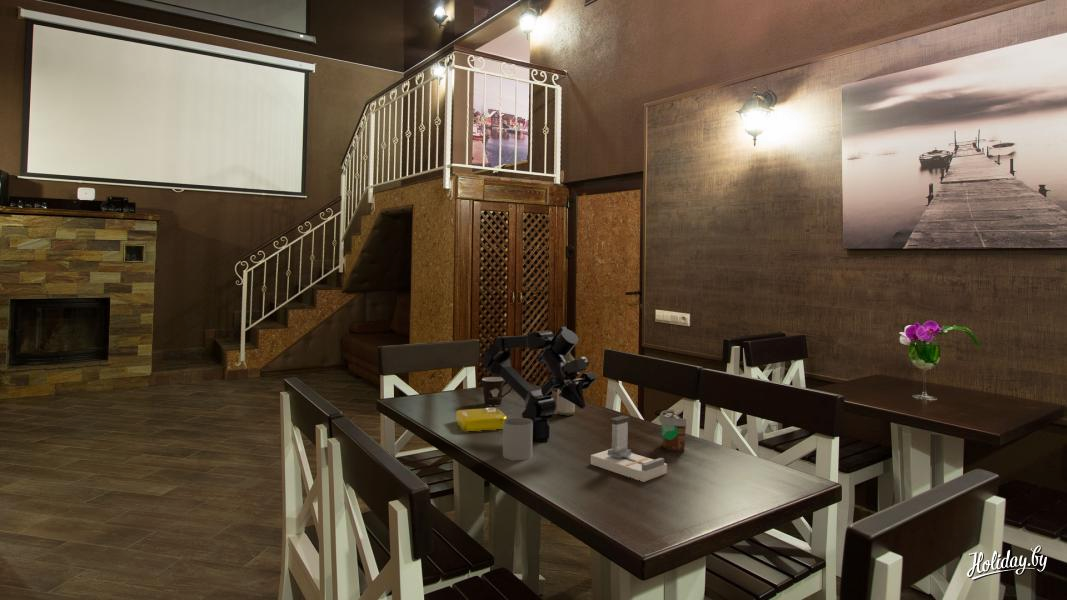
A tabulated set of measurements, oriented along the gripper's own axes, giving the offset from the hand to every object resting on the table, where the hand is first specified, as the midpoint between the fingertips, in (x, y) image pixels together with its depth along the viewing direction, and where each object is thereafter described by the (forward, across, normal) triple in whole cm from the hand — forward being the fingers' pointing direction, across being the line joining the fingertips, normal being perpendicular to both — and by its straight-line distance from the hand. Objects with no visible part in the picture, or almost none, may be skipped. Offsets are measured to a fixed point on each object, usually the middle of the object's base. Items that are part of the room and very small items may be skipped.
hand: (583, 407), depth 172 cm
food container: (+18, +25, +1) cm, 31 cm away
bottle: (-16, +29, +35) cm, 48 cm away
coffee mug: (-36, +19, +55) cm, 68 cm away
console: (+21, 0, -2) cm, 21 cm away
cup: (+2, -16, +18) cm, 24 cm away
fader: (+17, 0, -2) cm, 17 cm away
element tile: (-21, -4, +41) cm, 47 cm away
